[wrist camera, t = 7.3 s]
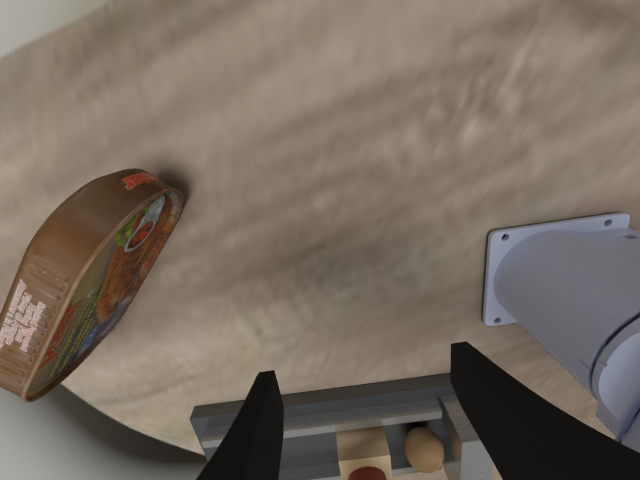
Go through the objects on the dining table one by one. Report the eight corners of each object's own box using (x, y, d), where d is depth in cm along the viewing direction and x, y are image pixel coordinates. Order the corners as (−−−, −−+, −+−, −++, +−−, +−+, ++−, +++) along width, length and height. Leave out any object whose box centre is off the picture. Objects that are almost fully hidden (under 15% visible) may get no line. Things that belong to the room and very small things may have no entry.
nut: (435, 416, 26) (451, 454, 23) (435, 440, 27) (450, 479, 24) (398, 420, 26) (409, 458, 23) (400, 445, 28) (411, 484, 25)
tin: (112, 335, 24) (14, 441, 16) (72, 316, 23) (-51, 417, 15) (202, 180, 19) (129, 220, 12) (157, 150, 19) (46, 172, 11)
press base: (465, 371, 26) (501, 428, 21) (462, 447, 30) (491, 511, 25) (194, 406, 27) (168, 470, 22) (224, 477, 30) (207, 544, 26)
